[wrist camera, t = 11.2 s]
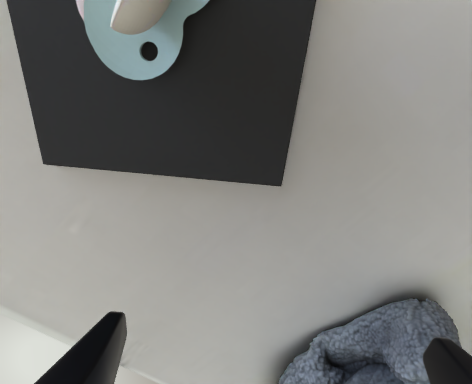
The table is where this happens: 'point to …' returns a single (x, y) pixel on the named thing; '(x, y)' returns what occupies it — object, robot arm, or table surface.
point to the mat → (169, 92)
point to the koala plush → (375, 347)
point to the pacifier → (136, 32)
